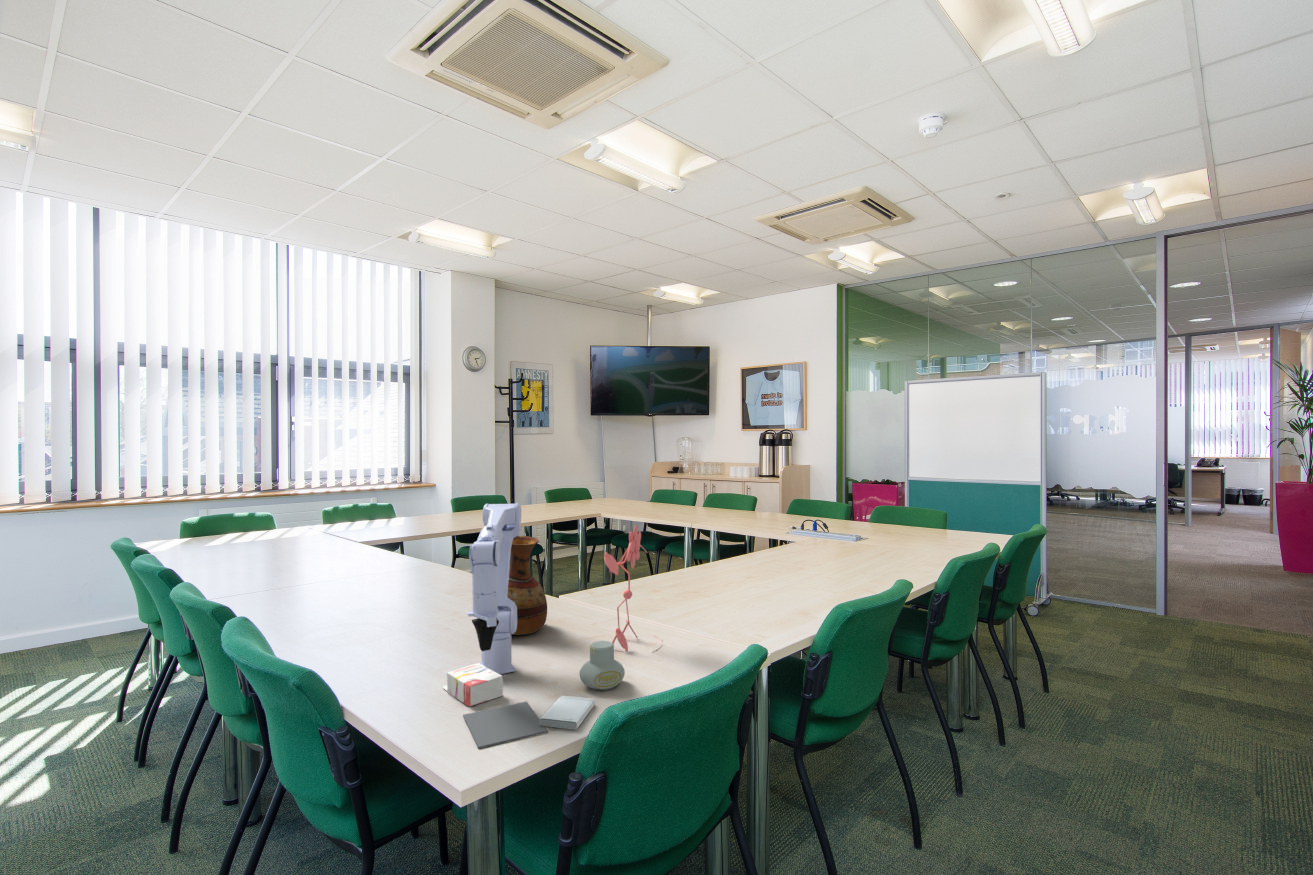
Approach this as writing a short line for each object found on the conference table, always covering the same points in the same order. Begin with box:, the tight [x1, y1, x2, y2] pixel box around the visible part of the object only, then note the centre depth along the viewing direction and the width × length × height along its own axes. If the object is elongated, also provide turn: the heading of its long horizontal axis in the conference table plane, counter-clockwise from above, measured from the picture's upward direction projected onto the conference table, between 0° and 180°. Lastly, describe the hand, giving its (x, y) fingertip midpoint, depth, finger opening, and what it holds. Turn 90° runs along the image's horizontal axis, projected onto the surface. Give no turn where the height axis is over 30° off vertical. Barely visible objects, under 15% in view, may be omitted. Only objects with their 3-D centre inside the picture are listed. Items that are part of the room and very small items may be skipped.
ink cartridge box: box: [442, 662, 504, 707], centre depth 144 cm, size 9×5×15 cm
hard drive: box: [539, 695, 596, 730], centre depth 131 cm, size 2×8×12 cm
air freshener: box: [579, 640, 626, 691], centre depth 148 cm, size 11×8×10 cm
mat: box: [462, 701, 549, 750], centre depth 128 cm, size 16×14×1 cm
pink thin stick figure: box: [603, 524, 663, 653], centre depth 177 cm, size 15×26×35 cm, turn 165°
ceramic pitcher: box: [507, 535, 548, 636], centre depth 192 cm, size 20×20×30 cm
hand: (485, 649), depth 144 cm, fingers closed
